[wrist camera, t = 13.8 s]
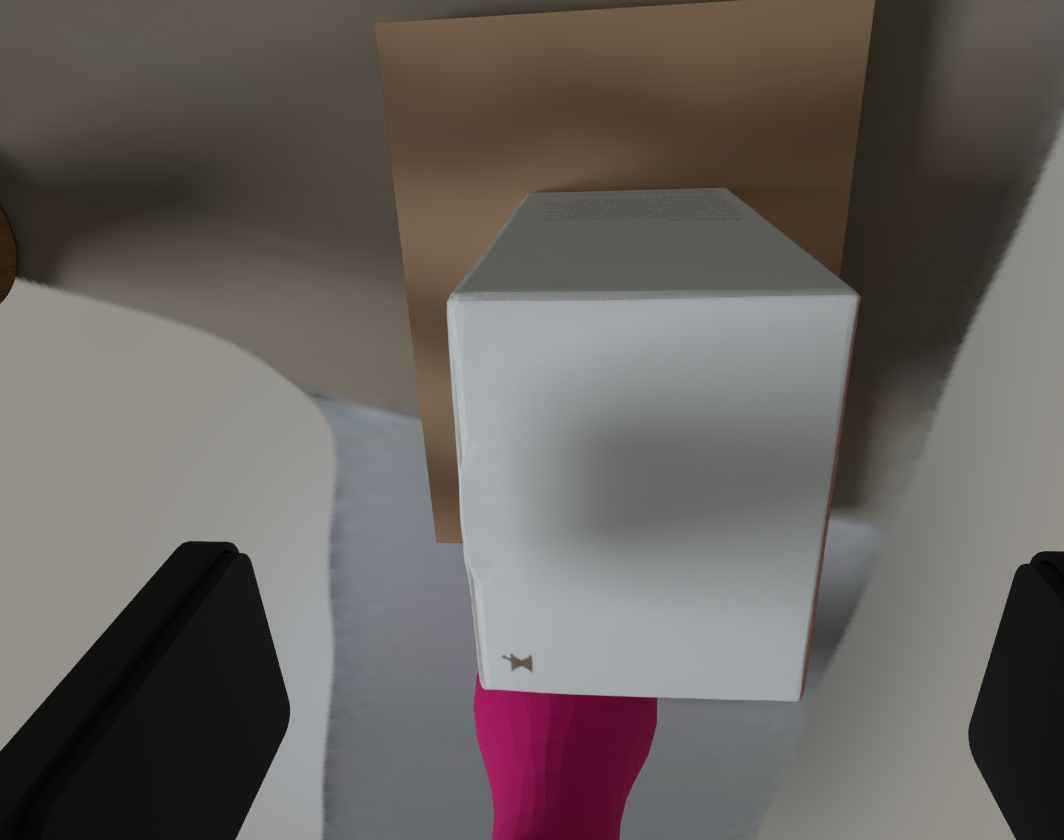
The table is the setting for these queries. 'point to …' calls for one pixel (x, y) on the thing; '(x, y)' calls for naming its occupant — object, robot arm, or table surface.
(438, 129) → the walnut board
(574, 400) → the small box
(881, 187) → the table surface
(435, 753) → the table surface
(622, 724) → the pepper mill
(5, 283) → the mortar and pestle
